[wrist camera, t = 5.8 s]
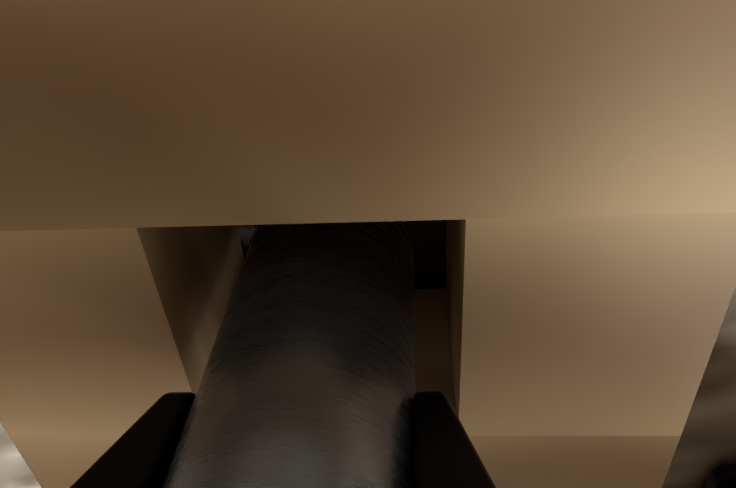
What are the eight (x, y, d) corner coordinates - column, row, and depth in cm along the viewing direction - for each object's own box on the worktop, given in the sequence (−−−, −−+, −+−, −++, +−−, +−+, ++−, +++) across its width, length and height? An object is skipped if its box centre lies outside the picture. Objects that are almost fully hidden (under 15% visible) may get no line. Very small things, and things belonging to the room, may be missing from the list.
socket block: (590, 398, 16) (638, 551, 13) (140, 400, 17) (76, 542, 13) (711, -155, 9) (889, -134, 6) (-67, -100, 10) (-302, -55, 7)
